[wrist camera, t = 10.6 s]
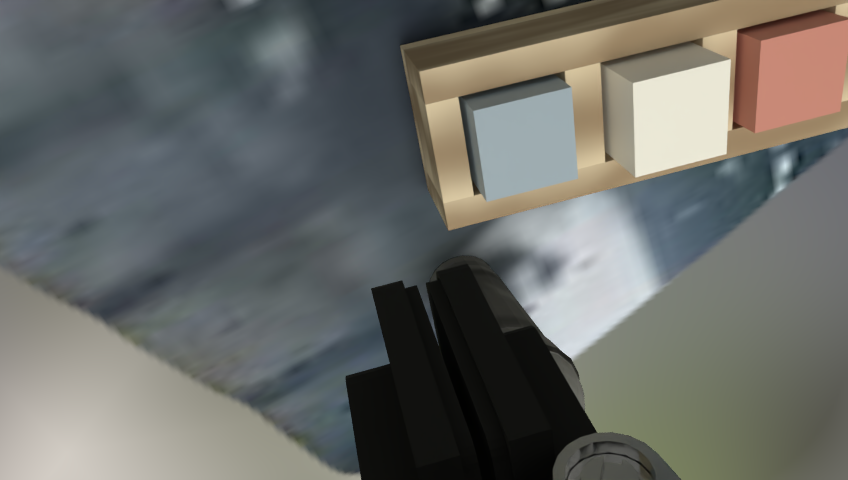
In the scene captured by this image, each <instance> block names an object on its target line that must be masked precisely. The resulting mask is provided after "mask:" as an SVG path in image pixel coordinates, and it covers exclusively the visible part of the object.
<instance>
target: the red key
mask: <svg viewBox="0 0 848 480" xmlns="http://www.w3.org/2000/svg"><path fill="white" fill-rule="evenodd" d="M847 56H848V17H845V16H841V15H837V14H834V13H830V12H826V11H823V10H816V11H811V12H807V13H803V14H799V15H795V16H791V17H787V18H783V19H778V20H774V21H770V22H766V23H762V24H758V25H754V26H749V27H745V28H741V29H737V43H736V63H735V83H734V103H733V121H734V122H735V123H737V124H739V125H741V126H743V127H744V128H746V129H748V130H750V131H752V132H753V133H758V132H762V131H766V130H770V129H774V128H778V127H782V126H785V125H789V124H793V123H797V122H801V121H805V120H809V119H813V118H817V117H821V116H824V115H828V114H832V113H836V112H840V109H841V101H842V94H843V86H844V79H845V71H846V64H847Z"/></svg>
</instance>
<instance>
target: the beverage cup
mask: <svg viewBox="0 0 848 480" xmlns="http://www.w3.org/2000/svg"><path fill="white" fill-rule="evenodd" d="M466 263H467V264H468V265H469V267H470V269H471V271H472V273H473V275H474V277H475V279H476V281H477V283H478V284H479V286H480V288H481V290H482V292H483V294H484V296H485V298H486V300H487V302H488V304H489V306H490V308H491V310H492V312H493V314H494V316H495V318H496V320H497V322H498V324H499V326H500V328H501V330H502V332H503V333H505V332H508V331H512V330H516V329H519V328H523V327H527V326H530V325H532V326H534V327H535V328H536V329H537V331H538V332H539V334H540V336H541V337H542V339H543V341H544V342H545V344H546V346H547V348H548V349H549V351H550V353H551V354H552V356H553V358H554V360H555V361H556V363H557V365H558V366H559V368H560V370H561V372H562V373H563V375H564V377H565V378H566V380H567V382H568V384H569V385H570V387H571V389H572V390H573V392H574V394H575V396H576V397H577V399H578V401H579V402H580V404H581V406H582V408H583V409H584V411H585V403H584V392H583V388H582V385H581V383H580V381H579V374H578V371H577V370H576V368H575V366H574V364H573V362H572V360H571V358H569V357H568V356H567V355H566V354H564V353H563V352H562V351H561V350H560V349H559V348H558V347H556V346H555V345H554V344H553V343H552V342H551V341H550V340H549V339H548V338H546V337H545V336H544V335H543V334H542V332H541V331H540V330H539V328H538V327H537V326H536V324H535V323H534V322H533V321H532V319H531V318H530V317H529V315H528V314H527V313H526V311H525V310H524V309H523V308H522V306H521V305H520V304H519V302H518V301H517V300H516V298H515V297H514V296H513V294H512V293H511V292H510V291H509V289H508V288H507V287H506V285H505V284H504V283H503V281H502V280H501V279H500V278H499V276H498V275H497V274H496V273H494V272H493V270H491V269H490V267H489V265H488V264H487V263H485V262H484V261H483V260H482V259H479V258H477V257H474V256H459V257H455V258H451V259H450V260H448V261H446V262H444V263H442V264H441V265H440V266H439V267H438V268H437V269H436V270H435V272H434V273H433V275H432V277H431V279H430V282H431V281H435V280H437V278H436V271H439V270H443V269H447V268H451V267H455V266H458V265H462V264H466Z"/></svg>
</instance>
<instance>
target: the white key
mask: <svg viewBox="0 0 848 480" xmlns="http://www.w3.org/2000/svg"><path fill="white" fill-rule="evenodd" d="M600 67H601V87H602V107H603V127H604V148H605V152H606V153H607V154H608V155H610V156H611V157H612V158H613V159H614V160H615V161H617V162H618V163H619V164H620V165H621V166H622V167H624V168H625V169H626V170H627V171H628V172H629V173H631V174H632V175H633V176H634V177H639V176H643V175H647V174H651V173H655V172H659V171H663V170H666V169H670V168H674V167H678V166H682V165H686V164H690V163H694V162H697V161H701V160H705V159H709V158H713V157H717V156H721V155H725V154H727V132H728V111H729V90H730V68H731V59H729V58H727V57H725V56H722V55H720V54H718V53H715V52H713V51H711V50H708V49H706V48H704V47H701V46H699V45H697V44H694V43H692V42H690V41H687V42H683V43H679V44H675V45H671V46H667V47H663V48H658V49H654V50H650V51H646V52H642V53H638V54H634V55H630V56H625V57H621V58H617V59H613V60H609V61H605V62H601V63H600Z"/></svg>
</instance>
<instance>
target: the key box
mask: <svg viewBox="0 0 848 480" xmlns="http://www.w3.org/2000/svg"><path fill="white" fill-rule="evenodd" d="M816 10H823V11H826V12H830V13H834V14H837V15H841V16H845V17H848V0H593V1H589V2H584V3H580V4H576V5H572V6H567V7H563V8H559V9H554V10H550V11H546V12H542V13H537V14H533V15H529V16H524V17H520V18H516V19H512V20H507V21H503V22H499V23H494V24H490V25H486V26H482V27H477V28H473V29H469V30H464V31H460V32H456V33H452V34H447V35H443V36H439V37H435V38H430V39H426V40H422V41H417V42H413V43H409V44H405V45H400V48H401V53H402V58H403V63H404V68H405V74H406V79H407V84H408V89H409V94H410V99H411V104H412V110H413V115H414V120H415V125H416V130H417V135H418V140H419V146H420V151H421V156H422V161H423V166H424V171H425V176H426V182H427V187H428V191H429V193H430V195H431V197H432V199H433V201H434V203H435V205H436V207H437V209H438V211H439V213H440V215H441V217H442V219H443V221H444V223H445V225H446V227H447V229H448V231H449V230H453V229H457V228H460V227H464V226H468V225H472V224H476V223H480V222H484V221H487V220H491V219H495V218H499V217H503V216H507V215H511V214H515V213H518V212H522V211H526V210H530V209H534V208H538V207H542V206H545V205H549V204H553V203H557V202H561V201H565V200H569V199H573V198H576V197H580V196H584V195H588V194H592V193H596V192H600V191H603V190H607V189H611V188H615V187H619V186H623V185H627V184H631V183H634V182H638V181H642V180H646V179H650V178H654V177H658V176H661V175H665V174H669V173H673V172H677V171H681V170H685V169H689V168H692V167H696V166H700V165H704V164H708V163H712V162H716V161H719V160H723V159H727V158H731V157H735V156H739V155H743V154H747V153H750V152H754V151H758V150H762V149H766V148H770V147H774V146H777V145H781V144H785V143H789V142H793V141H797V140H801V139H804V138H808V137H812V136H816V135H820V134H824V133H828V132H832V131H835V130H839V129H843V128H847V127H848V56H847V64H846V71H845V79H844V86H843V94H842V101H841V109H840V112H836V113H832V114H828V115H824V116H821V117H817V118H813V119H809V120H805V121H801V122H797V123H793V124H789V125H785V126H782V127H778V128H774V129H770V130H766V131H762V132H758V133H753V132H752V131H750V130H748V129H746V128H744V127H743V126H741V125H739V124H737V123H735V122H734V121H733V103H734V83H735V63H736V43H737V29H741V28H745V27H749V26H754V25H758V24H762V23H766V22H770V21H774V20H778V19H783V18H787V17H791V16H795V15H799V14H803V13H807V12H811V11H816ZM687 41H690V42H692V43H694V44H697V45H699V46H701V47H704V48H706V49H708V50H711V51H713V52H715V53H718V54H720V55H722V56H725V57H727V58H729V59H731V68H730V90H729V111H728V132H727V154H725V155H721V156H717V157H713V158H709V159H705V160H701V161H697V162H694V163H690V164H686V165H682V166H678V167H674V168H670V169H666V170H663V171H659V172H655V173H651V174H647V175H643V176H639V177H634V176H633V175H632V174H631V173H629V172H628V171H627V170H626V169H625V168H624V167H622V166H621V165H620V164H619V163H618V162H617V161H615V160H614V159H613V158H612V157H611V156H610V155H608V154H607V153H606V152H605V148H604V127H603V107H602V87H601V67H600V63H601V62H605V61H609V60H613V59H617V58H621V57H625V56H630V55H634V54H638V53H642V52H646V51H650V50H654V49H658V48H663V47H667V46H671V45H675V44H679V43H683V42H687ZM551 74H555V75H556V76H557V77H559V78H560V79H561V80H563V81H564V82H565V83H567V84H568V85H569V86H571V87H572V100H573V113H574V127H575V141H576V155H577V169H578V179H575V180H571V181H567V182H563V183H559V184H555V185H551V186H547V187H543V188H539V189H535V190H532V191H528V192H524V193H520V194H516V195H512V196H508V197H504V198H500V199H496V200H493V201H489V202H486V200H485V199H484V197H483V196H482V194H481V193H480V191H479V189H478V188H477V186H476V185H475V183H474V182H473V180H472V179H471V174H470V168H469V161H468V155H467V149H466V142H465V136H464V130H463V123H462V117H461V111H460V104H459V98H458V97H460V96H464V95H468V94H472V93H476V92H481V91H485V90H489V89H493V88H497V87H501V86H505V85H510V84H514V83H518V82H522V81H526V80H530V79H534V78H539V77H543V76H547V75H551Z"/></svg>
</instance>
